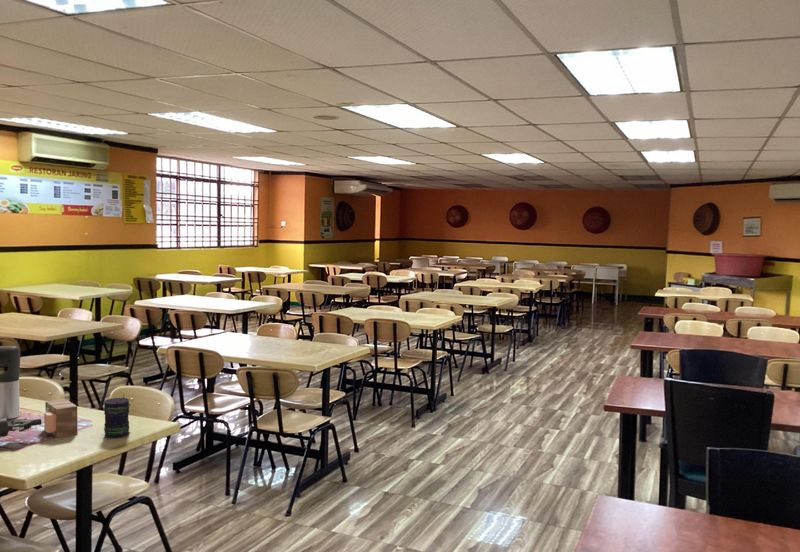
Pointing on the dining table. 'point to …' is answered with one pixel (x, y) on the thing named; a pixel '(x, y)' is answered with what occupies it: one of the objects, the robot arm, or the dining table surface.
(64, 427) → the walnut console
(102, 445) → the dining table surface
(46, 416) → the terracotta button
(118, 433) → the dark blue barrel
